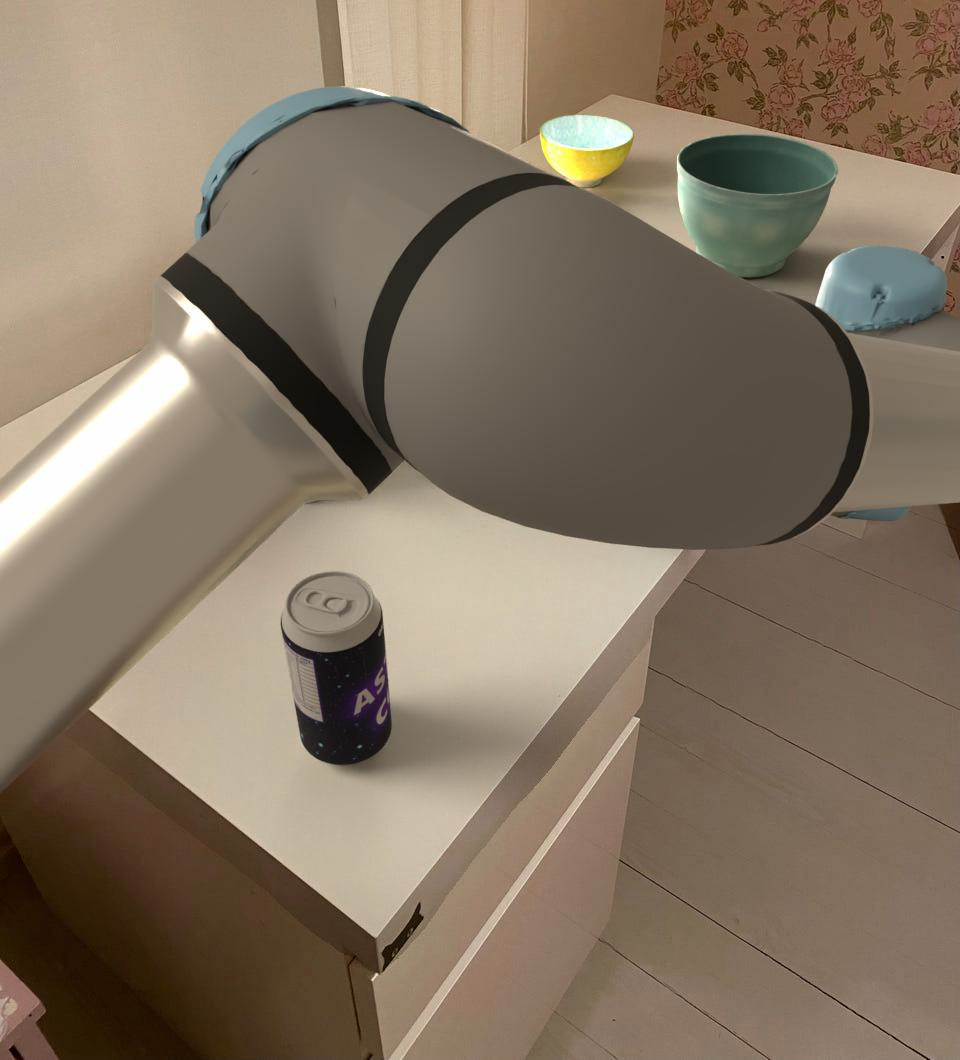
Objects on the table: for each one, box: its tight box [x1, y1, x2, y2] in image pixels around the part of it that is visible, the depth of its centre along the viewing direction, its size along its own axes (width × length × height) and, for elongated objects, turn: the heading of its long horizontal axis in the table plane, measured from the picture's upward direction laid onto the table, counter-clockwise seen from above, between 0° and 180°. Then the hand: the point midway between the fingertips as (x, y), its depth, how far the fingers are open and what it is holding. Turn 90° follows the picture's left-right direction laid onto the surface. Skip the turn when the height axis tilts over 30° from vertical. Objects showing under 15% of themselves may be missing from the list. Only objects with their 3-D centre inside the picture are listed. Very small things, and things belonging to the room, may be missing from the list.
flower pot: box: [676, 133, 839, 278], centre depth 111 cm, size 16×16×11 cm
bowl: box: [539, 114, 635, 189], centre depth 128 cm, size 11×12×6 cm
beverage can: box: [280, 570, 393, 766], centre depth 61 cm, size 6×6×12 cm
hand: (393, 397), depth 82 cm, fingers closed
